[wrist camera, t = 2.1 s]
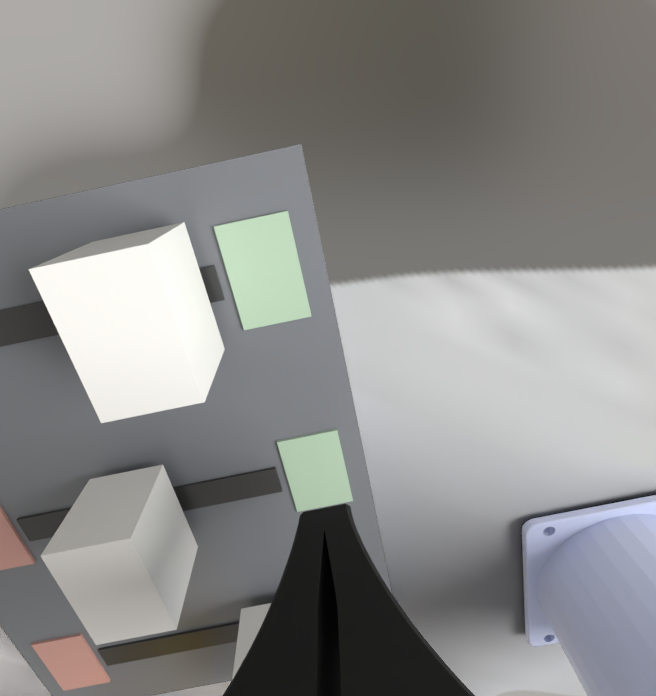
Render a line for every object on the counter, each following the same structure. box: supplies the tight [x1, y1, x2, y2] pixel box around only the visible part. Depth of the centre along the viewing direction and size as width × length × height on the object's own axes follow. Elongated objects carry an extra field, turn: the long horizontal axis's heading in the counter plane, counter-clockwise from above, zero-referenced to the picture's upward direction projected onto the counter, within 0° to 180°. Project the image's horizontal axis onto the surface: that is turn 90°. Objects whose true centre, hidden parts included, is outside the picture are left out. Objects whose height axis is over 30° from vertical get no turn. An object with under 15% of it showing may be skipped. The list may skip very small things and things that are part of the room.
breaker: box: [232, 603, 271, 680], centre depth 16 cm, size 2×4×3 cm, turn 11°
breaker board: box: [0, 144, 392, 696], centre depth 16 cm, size 15×20×2 cm
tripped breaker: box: [41, 465, 198, 645], centre depth 14 cm, size 2×4×3 cm, turn 11°
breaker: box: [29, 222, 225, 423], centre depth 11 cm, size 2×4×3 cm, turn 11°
